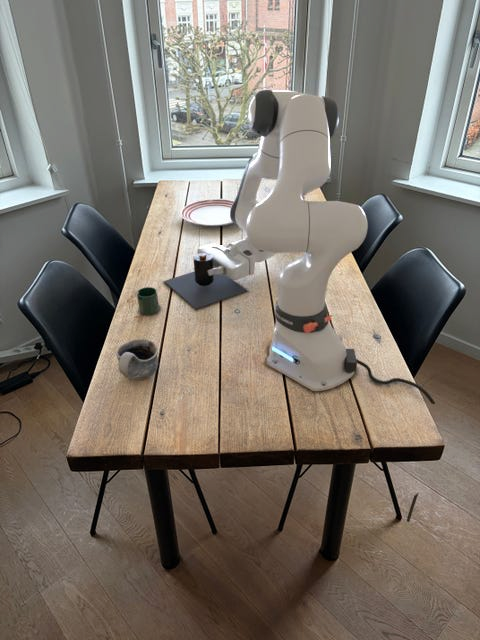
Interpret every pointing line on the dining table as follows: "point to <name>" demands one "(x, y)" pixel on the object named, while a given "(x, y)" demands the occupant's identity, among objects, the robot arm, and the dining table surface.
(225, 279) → the mat
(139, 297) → the glass
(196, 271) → the black canister with knob
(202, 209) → the dinner plate
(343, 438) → the dining table surface
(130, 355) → the mug
